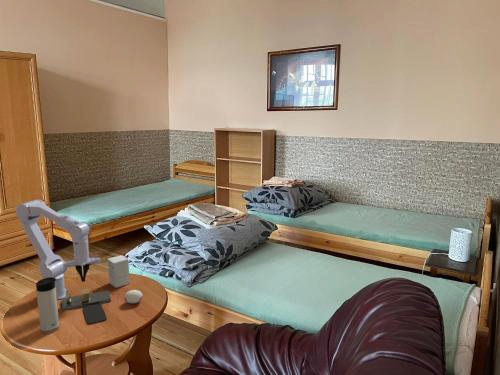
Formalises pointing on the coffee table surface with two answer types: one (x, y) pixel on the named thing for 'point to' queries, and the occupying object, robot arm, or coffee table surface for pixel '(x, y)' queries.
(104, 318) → the phone
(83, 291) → the wooden block
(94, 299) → the plate
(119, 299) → the coffee table surface
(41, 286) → the travel mug
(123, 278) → the supplement box
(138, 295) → the stress ball
